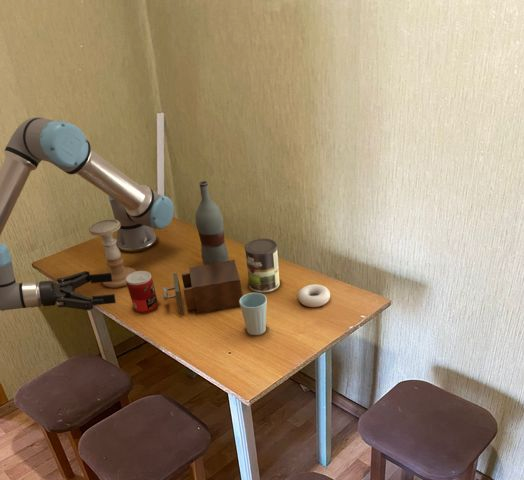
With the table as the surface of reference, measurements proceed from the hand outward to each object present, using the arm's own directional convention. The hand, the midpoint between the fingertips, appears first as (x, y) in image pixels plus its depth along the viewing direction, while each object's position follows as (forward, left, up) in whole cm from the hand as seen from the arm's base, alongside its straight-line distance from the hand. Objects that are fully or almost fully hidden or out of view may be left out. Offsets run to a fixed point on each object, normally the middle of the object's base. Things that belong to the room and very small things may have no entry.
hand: (113, 287), depth 164 cm
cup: (+24, +40, -8) cm, 48 cm away
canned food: (+1, +8, -8) cm, 12 cm away
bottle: (-18, +33, -8) cm, 39 cm away
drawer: (+4, +24, -7) cm, 25 cm away
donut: (+14, +60, -8) cm, 63 cm away
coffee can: (0, +47, -8) cm, 48 cm away
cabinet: (+4, +31, -8) cm, 33 cm away
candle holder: (-20, -1, -8) cm, 22 cm away
